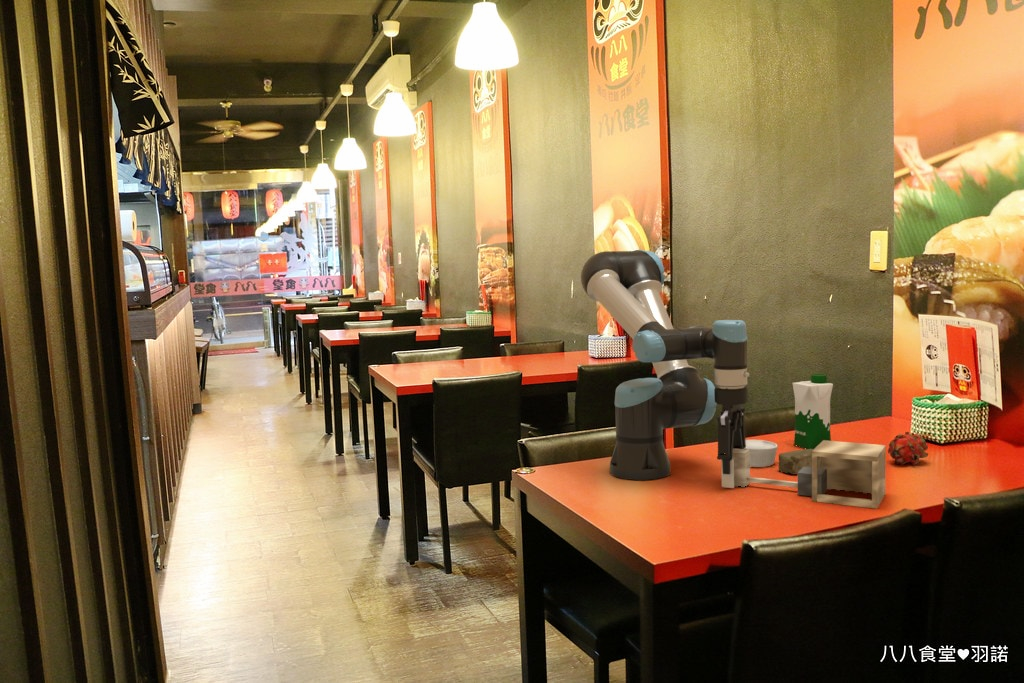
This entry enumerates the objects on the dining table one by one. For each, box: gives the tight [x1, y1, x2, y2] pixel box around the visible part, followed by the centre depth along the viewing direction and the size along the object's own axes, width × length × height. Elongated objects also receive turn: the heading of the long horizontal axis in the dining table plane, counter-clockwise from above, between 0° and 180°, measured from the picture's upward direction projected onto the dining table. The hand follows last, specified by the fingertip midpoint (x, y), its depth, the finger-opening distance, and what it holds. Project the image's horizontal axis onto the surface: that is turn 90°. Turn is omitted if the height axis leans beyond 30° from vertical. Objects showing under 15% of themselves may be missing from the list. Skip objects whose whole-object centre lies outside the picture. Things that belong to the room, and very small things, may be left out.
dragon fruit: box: [887, 431, 929, 466], centre depth 205 cm, size 8×8×12 cm
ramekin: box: [744, 439, 779, 468], centre depth 210 cm, size 11×11×5 cm
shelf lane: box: [811, 440, 887, 510], centre depth 177 cm, size 13×12×11 cm
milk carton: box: [791, 373, 834, 449], centre depth 226 cm, size 9×9×20 cm
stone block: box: [778, 448, 823, 475], centre depth 202 cm, size 6×12×5 cm, turn 117°
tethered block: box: [732, 448, 828, 497], centre depth 186 cm, size 21×6×8 cm, turn 58°
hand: (732, 483), depth 191 cm, fingers open, 7 cm apart
